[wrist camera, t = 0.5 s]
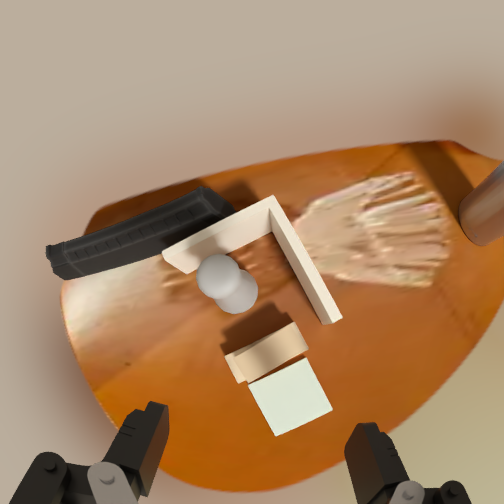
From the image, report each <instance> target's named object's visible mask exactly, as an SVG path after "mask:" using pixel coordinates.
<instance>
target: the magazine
mask: <svg viewBox="0 0 504 504" xmlns="http://www.w3.org/2000/svg"><path fill="white" fill-rule="evenodd" d="M235 213H236V211H235V210H234V207H233V205H231V204H230V203H229V202H227V201H226V200H225V199H223V198H222V197H221V196H219V195H218V194H217V193H215V192H214V191H213V190H211V189H210V188H204V187H202V186H200V187H198V188H197V189H196V190H194V191H192V192H190V193H188V194H186V195H184V196H182V197H180V198H178V199H176V200H173V201H171V202H169V203H167V204H164V205H162V206H160V207H157V208H155V209H152V210H150V211H147V212H145V213H142V214H140V215H137V216H135V217H133V218H130V219H128V220H125V221H123V222H120V223H118V224H115V225H113V226H110V227H107V228H104V229H102V230H99V231H96V232H94V233H91V234H88V235H85V236H82V237H79V238H76V239H73V240H70V241H67V242H61V243H59V244H56V245H48V246H46V252H45V254H46V257H47V259H48V260H50V262H51V267H52V268H53V273H55V274H56V275H58V276H59V277H60V278H62V279H64V280H71V279H75V278H79V277H84V276H87V275H91V274H95V273H98V272H102V271H106V270H109V269H113V268H117V267H120V266H124V265H127V264H131V263H134V262H137V261H140V260H143V259H146V258H149V257H152V256H155V255H158V254H161V253H162V251H163V250H165V249H167V248H169V247H171V246H173V245H175V244H177V243H178V242H180V241H182V240H184V239H186V238H188V237H190V236H192V235H194V234H196V233H198V232H199V231H201V230H203V229H205V228H207V227H209V226H211V225H213V224H215V223H217V222H219V221H221V220H223V219H225V218H227V217H229V216H231V215H233V214H235Z"/></svg>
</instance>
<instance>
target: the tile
mask: <svg viewBox="0 0 504 504" xmlns="http://www.w3.org/2000/svg"><path fill="white" fill-rule="evenodd" d="M248 386H249V388H250V390H251V392H252V394H253V396H254V398H255V400H256V402H257V403H258V405H259V407H260V409H261V411H262V413H263V415H264V416H265V418H266V420H267V422H268V424H269V425H270V427H271V429H272V431H273V433H274V434H275V436H278V435H280V434H282V433H285V432H287V431H289V430H292V429H294V428H296V427H298V426H301V425H303V424H305V423H307V422H309V421H311V420H313V419H316V418H318V417H320V416H322V415H324V414H326V413H328V412H330V411H331V410H333V409H332V407H331V405H330V403H329V401H328V399H327V397H326V395H325V393H324V391H323V389H322V387H321V386H320V384H319V382H318V380H317V378H316V376H315V374H314V372H313V370H312V368H311V366H310V364H309V362H308V360H307V358H306V357H305V358H303V359H301V360H299V361H297V362H295V363H294V364H291V365H289V366H287V367H285V368H283V369H281V370H279V371H277V372H275V373H273V374H271V375H269V376H266V377H264V378H262V379H260V380H258V381H255V382H253V383H251V384H248Z"/></svg>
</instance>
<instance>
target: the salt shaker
mask: <svg viewBox="0 0 504 504" xmlns="http://www.w3.org/2000/svg"><path fill="white" fill-rule="evenodd" d="M196 280H197V283H198V286H199V288H200V290H201V291H202V292H203V293H204V294H206V295H207V296H208V297H211V298H214V300H215V302H216V304H217V305H218V306H219V307H220V308H221V309H222V310H223V311H226V312H229V313H232V314H237V313H242V312H245V311H246V310H248V309H249V308H251V307H252V306H253V304H254V302H255V300H256V299H257V294H258V286H257V284H256V281H255V279H254V277H252V276H251V275H250V274H249V273H248V272H247V271H244V270H241V269H239V267H238V264H237V263H236V262H235V261H234V260H233V259H232V258H231V257H229V256H226V255H222V254H215V255H210V256H208V257H207V258H206V259H204V260H203V261H202V262H201V264H200V265H199V267H198V268H197V275H196Z"/></svg>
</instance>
